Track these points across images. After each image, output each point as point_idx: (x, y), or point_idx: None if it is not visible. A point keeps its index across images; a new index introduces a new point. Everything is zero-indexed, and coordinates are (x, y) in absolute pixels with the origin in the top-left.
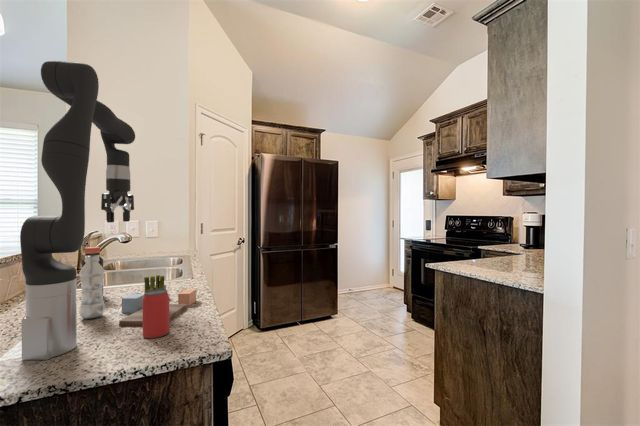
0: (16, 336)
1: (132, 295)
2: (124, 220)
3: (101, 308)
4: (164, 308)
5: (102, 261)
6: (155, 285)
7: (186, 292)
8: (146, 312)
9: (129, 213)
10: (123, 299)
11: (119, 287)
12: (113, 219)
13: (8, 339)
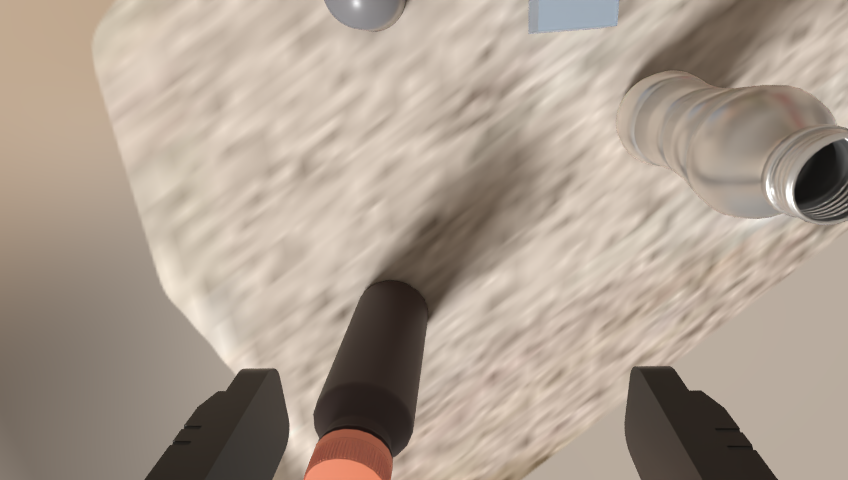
0: None
1: (562, 6)
2: (283, 426)
3: (679, 71)
4: None
5: (343, 379)
6: (352, 17)
7: None
8: None
9: (179, 470)
10: (616, 16)
11: (235, 315)
12: (671, 389)
13: (844, 225)
